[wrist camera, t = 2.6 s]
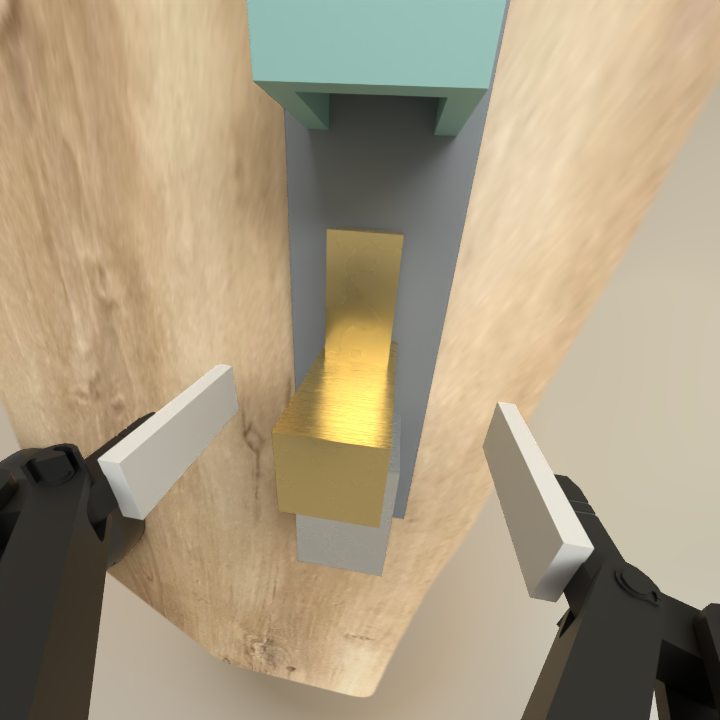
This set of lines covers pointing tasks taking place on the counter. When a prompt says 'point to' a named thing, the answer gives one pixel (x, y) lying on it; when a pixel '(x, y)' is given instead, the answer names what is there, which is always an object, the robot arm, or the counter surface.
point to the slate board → (383, 227)
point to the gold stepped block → (345, 388)
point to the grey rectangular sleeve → (352, 529)
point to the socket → (375, 53)
